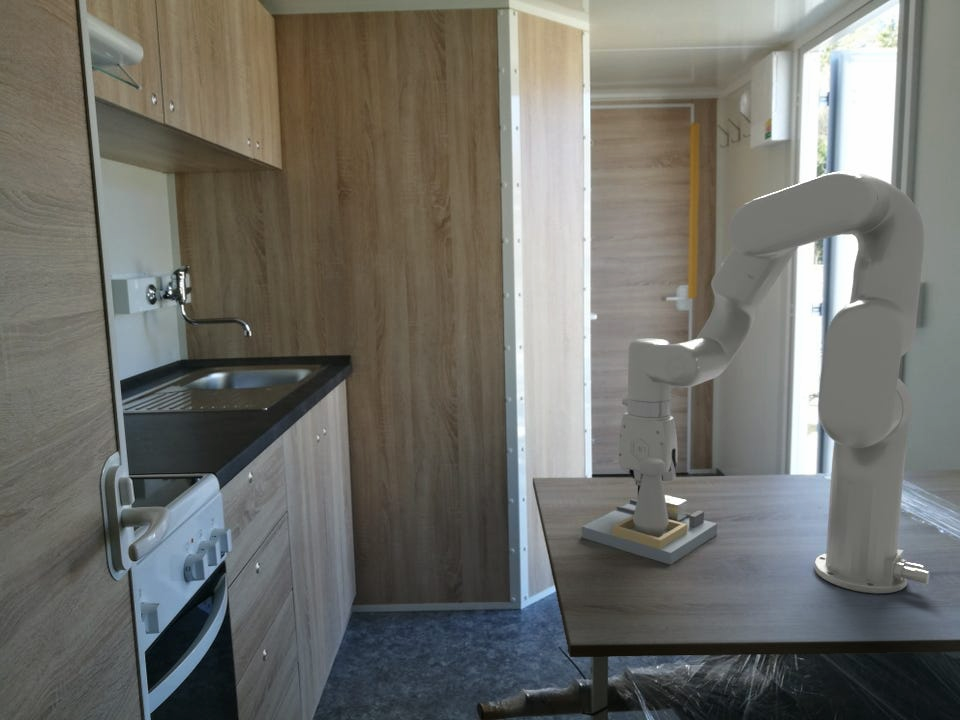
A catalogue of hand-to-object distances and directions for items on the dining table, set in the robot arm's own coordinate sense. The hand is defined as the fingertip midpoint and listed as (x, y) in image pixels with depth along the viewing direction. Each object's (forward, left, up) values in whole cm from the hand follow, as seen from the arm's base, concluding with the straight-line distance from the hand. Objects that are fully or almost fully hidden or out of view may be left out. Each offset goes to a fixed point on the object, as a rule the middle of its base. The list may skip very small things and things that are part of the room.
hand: (646, 506), depth 136 cm
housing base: (-4, +6, -3) cm, 7 cm away
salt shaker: (-6, +9, -1) cm, 11 cm away
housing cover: (-4, 0, -1) cm, 5 cm away
